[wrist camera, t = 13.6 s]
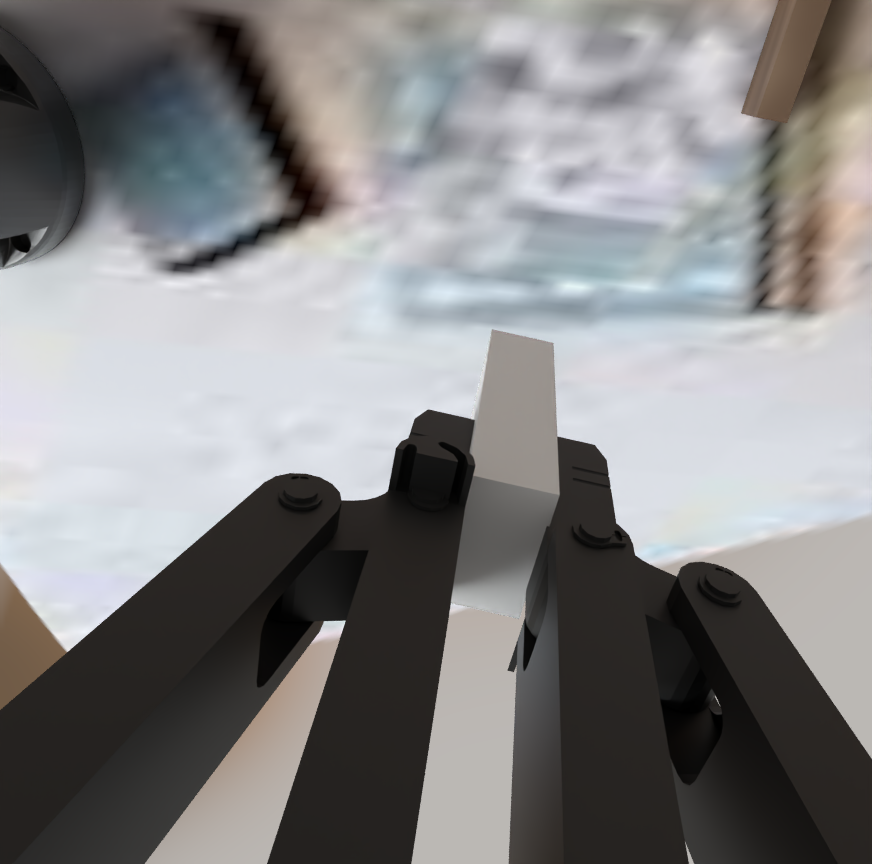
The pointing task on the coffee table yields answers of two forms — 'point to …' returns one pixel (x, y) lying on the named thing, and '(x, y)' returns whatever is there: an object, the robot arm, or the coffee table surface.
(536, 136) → the coffee table surface
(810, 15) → the channel walls
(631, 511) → the coffee table surface
